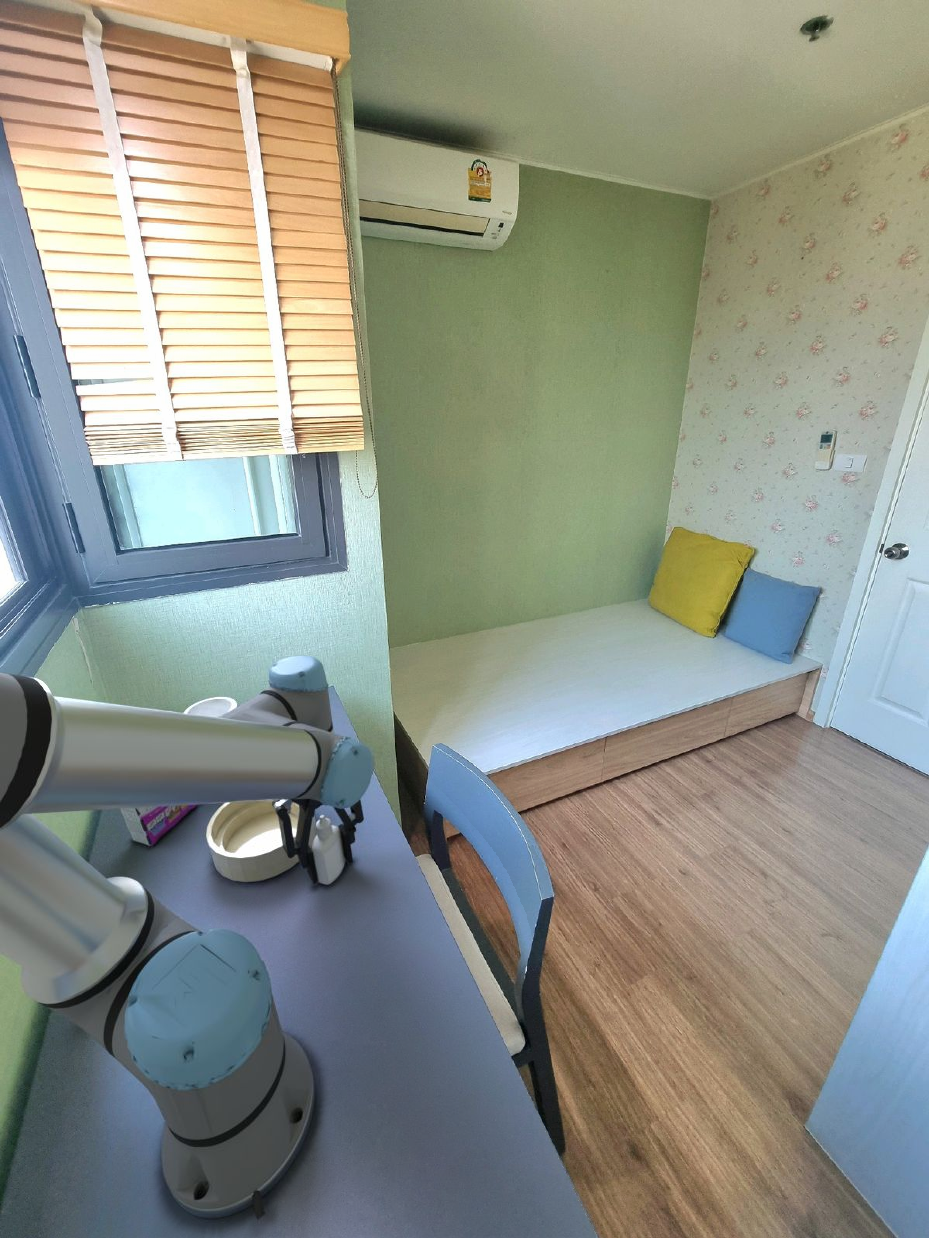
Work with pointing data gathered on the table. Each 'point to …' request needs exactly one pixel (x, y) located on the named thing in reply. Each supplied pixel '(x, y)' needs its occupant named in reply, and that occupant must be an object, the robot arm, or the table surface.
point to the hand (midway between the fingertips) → (330, 867)
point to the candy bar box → (153, 821)
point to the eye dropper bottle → (328, 851)
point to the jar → (212, 707)
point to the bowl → (251, 840)
